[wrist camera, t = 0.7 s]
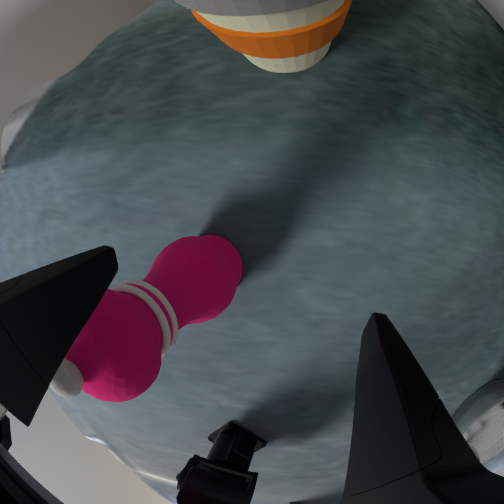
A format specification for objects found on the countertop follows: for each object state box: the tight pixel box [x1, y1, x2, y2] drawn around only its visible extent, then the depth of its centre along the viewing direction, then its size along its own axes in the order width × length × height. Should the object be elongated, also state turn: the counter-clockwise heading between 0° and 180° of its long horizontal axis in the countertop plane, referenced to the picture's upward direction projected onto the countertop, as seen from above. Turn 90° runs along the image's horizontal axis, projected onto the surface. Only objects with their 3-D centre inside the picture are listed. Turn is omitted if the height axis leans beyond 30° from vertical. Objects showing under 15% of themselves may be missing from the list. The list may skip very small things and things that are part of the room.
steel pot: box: [452, 379, 504, 463], centre depth 20 cm, size 12×18×7 cm
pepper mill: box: [50, 235, 243, 402], centre depth 17 cm, size 7×7×20 cm
